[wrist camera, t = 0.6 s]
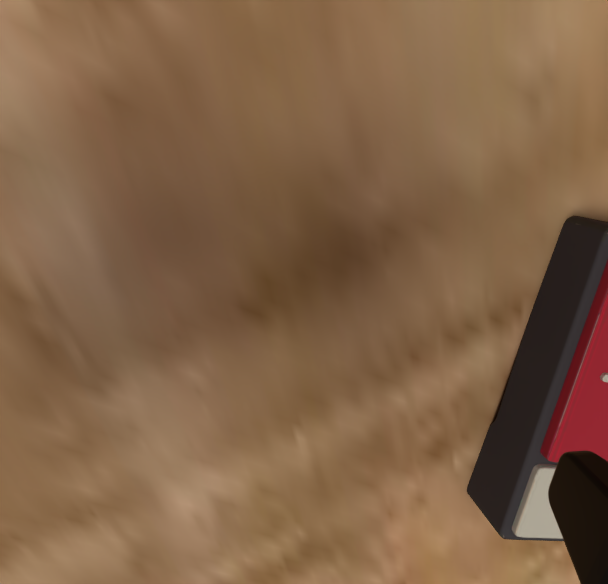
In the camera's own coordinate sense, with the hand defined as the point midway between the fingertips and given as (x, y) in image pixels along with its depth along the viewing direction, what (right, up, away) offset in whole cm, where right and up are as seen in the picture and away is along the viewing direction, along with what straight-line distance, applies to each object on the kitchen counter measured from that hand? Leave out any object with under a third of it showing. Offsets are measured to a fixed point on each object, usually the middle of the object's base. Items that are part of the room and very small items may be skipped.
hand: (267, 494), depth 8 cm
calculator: (+16, -1, +21) cm, 26 cm away
